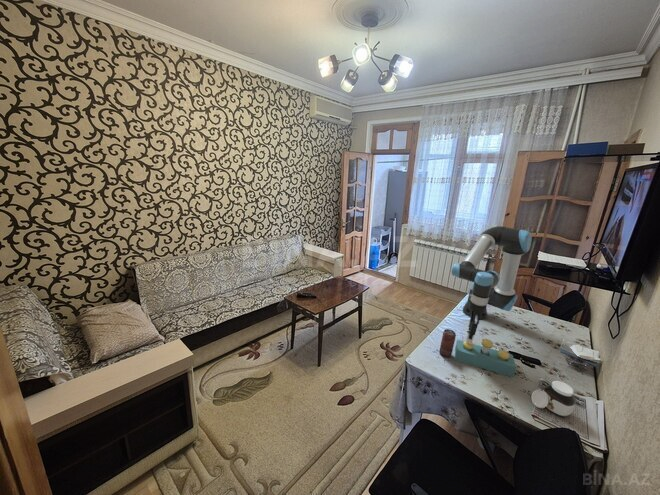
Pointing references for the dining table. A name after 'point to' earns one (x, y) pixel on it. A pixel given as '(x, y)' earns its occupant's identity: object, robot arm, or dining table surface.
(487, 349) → the plunger mid
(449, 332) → the can
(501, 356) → the plunger
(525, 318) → the dining table surface
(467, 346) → the plunger
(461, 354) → the mount
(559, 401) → the spread jar
